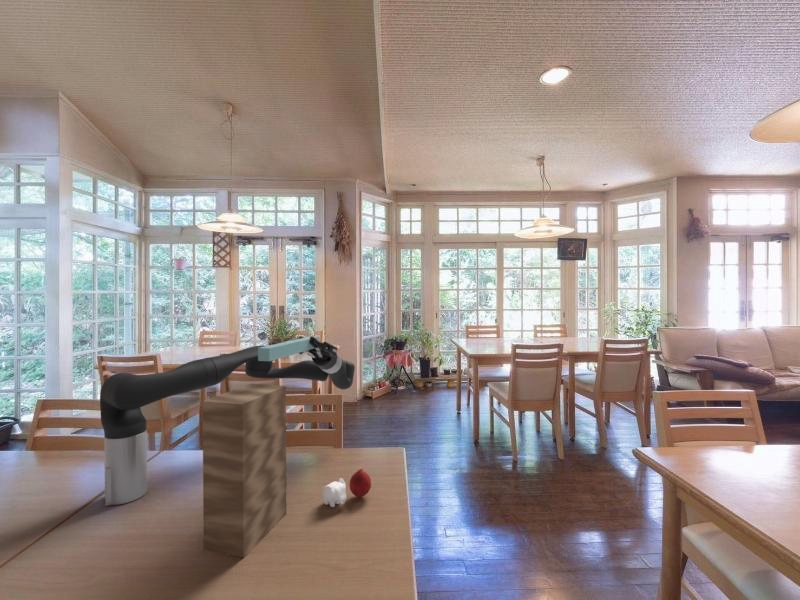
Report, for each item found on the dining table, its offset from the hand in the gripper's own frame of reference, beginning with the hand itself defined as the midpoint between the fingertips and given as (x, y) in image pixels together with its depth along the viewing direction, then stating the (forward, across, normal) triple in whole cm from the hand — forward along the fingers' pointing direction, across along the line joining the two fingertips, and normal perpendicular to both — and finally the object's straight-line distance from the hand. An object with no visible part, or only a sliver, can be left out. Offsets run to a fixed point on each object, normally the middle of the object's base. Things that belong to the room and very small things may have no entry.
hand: (305, 339), depth 110 cm
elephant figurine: (-11, +15, +42) cm, 46 cm away
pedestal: (+2, 0, +49) cm, 49 cm away
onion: (-15, +20, +40) cm, 47 cm away
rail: (+5, 0, +6) cm, 8 cm away
